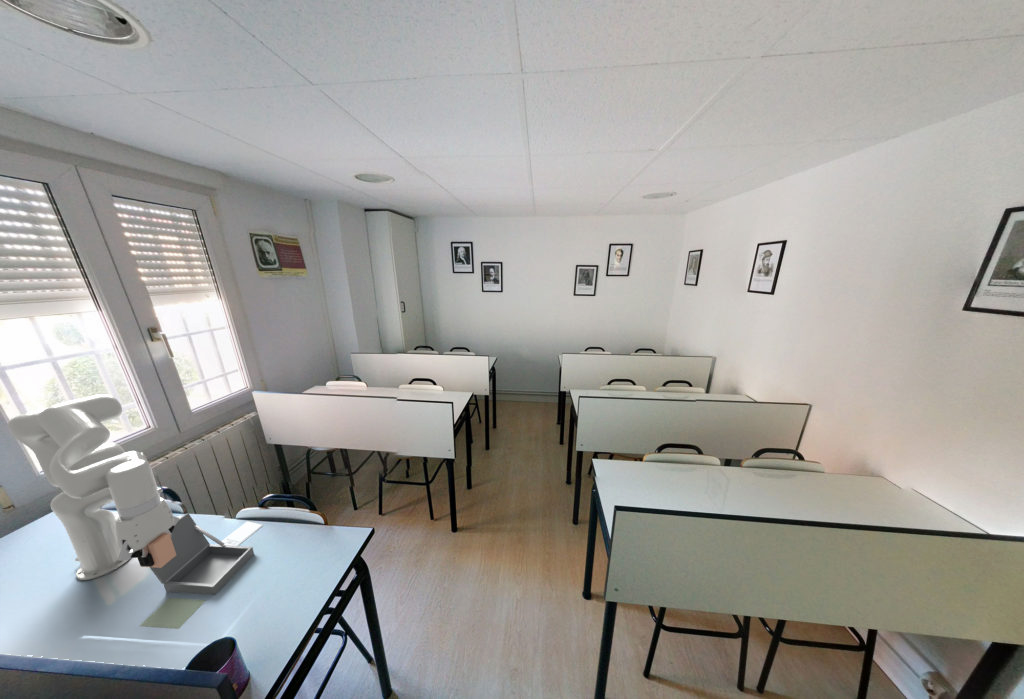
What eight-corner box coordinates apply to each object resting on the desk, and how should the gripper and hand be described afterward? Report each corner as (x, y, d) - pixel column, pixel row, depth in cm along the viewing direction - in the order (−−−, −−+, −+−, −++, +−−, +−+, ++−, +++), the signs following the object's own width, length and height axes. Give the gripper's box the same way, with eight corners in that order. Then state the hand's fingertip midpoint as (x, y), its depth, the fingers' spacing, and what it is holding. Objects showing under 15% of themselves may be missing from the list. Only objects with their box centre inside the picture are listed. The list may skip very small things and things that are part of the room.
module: (140, 566, 87) (132, 544, 85) (156, 554, 91) (149, 532, 89) (161, 567, 87) (153, 545, 85) (176, 555, 91) (169, 533, 89)
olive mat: (139, 627, 90) (139, 625, 90) (170, 599, 98) (169, 597, 98) (179, 630, 90) (178, 628, 90) (206, 601, 98) (206, 600, 97)
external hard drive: (264, 528, 126) (231, 554, 114) (247, 524, 127) (213, 550, 116) (263, 524, 126) (230, 551, 114) (246, 521, 127) (213, 546, 115)
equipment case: (151, 591, 100) (135, 549, 96) (197, 551, 114) (186, 512, 110) (215, 596, 99) (203, 553, 95) (254, 555, 113) (245, 516, 109)
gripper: (161, 483, 93) (176, 533, 97) (84, 528, 76) (107, 585, 81) (185, 484, 92) (199, 534, 97) (113, 530, 76) (134, 587, 81)
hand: (157, 557), depth 89 cm, fingers closed on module, 4 cm apart
